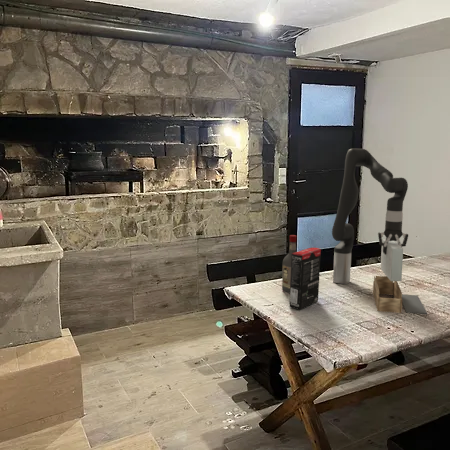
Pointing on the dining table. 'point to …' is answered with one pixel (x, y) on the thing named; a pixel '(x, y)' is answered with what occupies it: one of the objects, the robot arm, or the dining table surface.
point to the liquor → (288, 265)
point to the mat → (413, 304)
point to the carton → (391, 288)
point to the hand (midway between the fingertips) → (391, 254)
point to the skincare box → (392, 261)
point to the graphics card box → (304, 278)
